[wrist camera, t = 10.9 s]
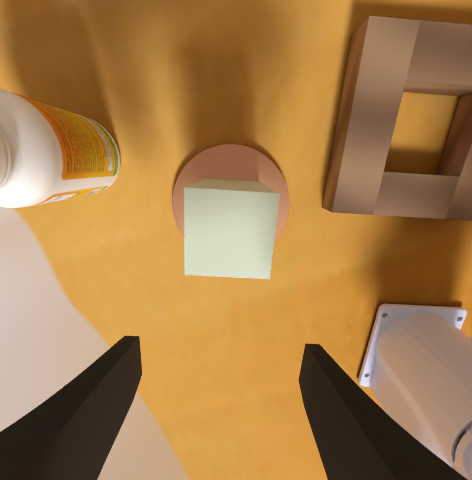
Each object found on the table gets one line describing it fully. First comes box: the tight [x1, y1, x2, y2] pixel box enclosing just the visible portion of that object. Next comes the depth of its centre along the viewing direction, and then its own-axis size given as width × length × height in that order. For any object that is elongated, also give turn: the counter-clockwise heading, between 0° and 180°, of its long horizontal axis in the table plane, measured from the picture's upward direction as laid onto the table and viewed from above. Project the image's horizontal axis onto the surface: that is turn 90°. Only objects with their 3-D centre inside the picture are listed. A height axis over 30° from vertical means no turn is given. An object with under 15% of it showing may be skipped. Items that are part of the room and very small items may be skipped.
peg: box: [184, 178, 280, 279], centre depth 14 cm, size 4×4×8 cm
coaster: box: [172, 144, 289, 241], centre depth 18 cm, size 9×9×1 cm
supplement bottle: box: [0, 89, 120, 208], centre depth 13 cm, size 5×5×10 cm
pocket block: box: [322, 16, 472, 221], centre depth 16 cm, size 11×11×2 cm
